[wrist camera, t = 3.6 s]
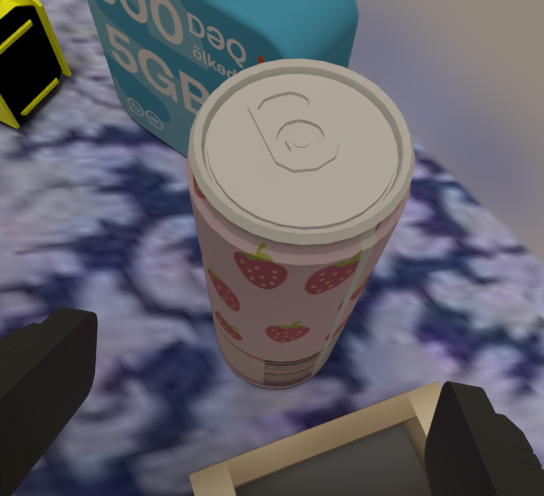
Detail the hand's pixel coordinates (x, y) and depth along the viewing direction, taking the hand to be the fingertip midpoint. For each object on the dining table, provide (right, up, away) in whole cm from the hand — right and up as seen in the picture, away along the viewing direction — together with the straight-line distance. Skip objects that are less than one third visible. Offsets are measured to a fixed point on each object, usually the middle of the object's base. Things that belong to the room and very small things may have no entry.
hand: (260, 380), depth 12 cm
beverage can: (0, -1, +14) cm, 14 cm away
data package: (-3, +9, +19) cm, 21 cm away
